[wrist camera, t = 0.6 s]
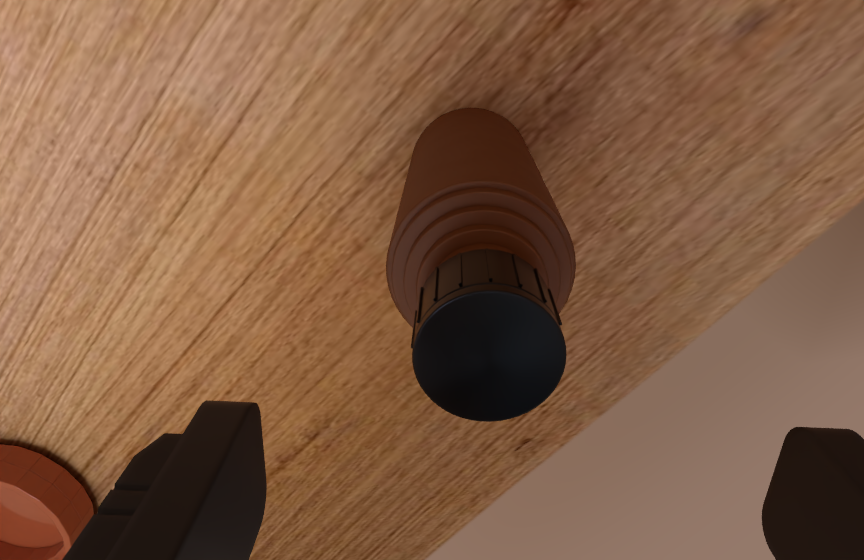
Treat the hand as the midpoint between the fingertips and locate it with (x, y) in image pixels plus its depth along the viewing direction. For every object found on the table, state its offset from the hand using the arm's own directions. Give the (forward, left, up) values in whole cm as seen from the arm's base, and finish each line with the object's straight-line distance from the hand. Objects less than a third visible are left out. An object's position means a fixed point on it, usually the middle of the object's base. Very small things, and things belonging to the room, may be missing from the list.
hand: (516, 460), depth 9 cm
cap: (-2, 0, -7) cm, 7 cm away
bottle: (-2, 0, -26) cm, 26 cm away
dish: (-20, +36, -26) cm, 49 cm away
